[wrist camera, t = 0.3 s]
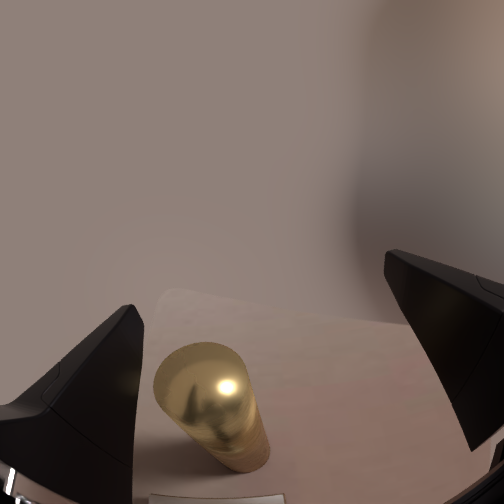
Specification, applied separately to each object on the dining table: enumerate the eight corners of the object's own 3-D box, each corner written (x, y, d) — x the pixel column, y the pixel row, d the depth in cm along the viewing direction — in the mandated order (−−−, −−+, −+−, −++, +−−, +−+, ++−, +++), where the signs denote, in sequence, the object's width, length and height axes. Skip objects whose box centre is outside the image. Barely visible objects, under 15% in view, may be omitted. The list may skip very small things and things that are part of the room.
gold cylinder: (273, 469, 15) (252, 419, 8) (220, 474, 15) (148, 422, 8) (267, 426, 18) (244, 337, 12) (218, 431, 18) (159, 345, 12)
